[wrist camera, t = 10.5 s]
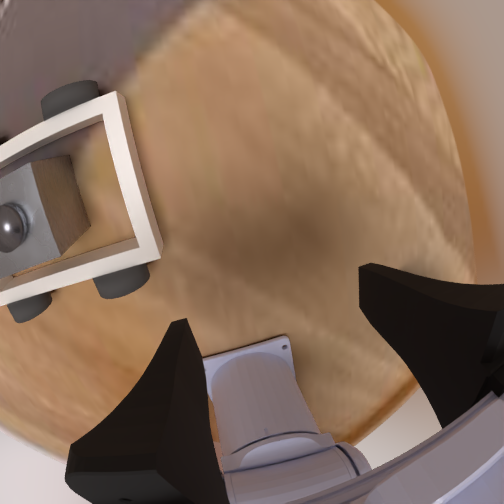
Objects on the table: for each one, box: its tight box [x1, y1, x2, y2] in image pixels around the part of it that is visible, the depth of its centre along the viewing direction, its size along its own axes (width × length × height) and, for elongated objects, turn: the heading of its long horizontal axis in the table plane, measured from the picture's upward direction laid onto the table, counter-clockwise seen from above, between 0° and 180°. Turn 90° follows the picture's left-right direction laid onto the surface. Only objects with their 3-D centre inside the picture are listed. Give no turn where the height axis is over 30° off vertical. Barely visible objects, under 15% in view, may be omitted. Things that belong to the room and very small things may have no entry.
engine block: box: [0, 155, 91, 279], centre depth 13 cm, size 5×5×6 cm
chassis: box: [0, 80, 164, 323], centre depth 15 cm, size 12×14×4 cm
